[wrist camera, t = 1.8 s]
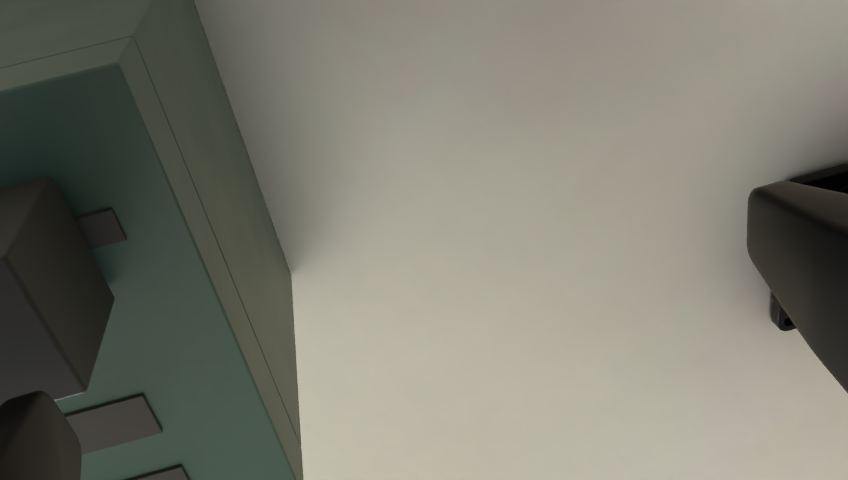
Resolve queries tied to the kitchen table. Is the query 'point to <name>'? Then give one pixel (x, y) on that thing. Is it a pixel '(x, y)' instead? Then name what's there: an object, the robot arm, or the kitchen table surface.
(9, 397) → the slider
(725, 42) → the kitchen table surface
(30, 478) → the robot arm
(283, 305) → the toaster
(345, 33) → the kitchen table surface
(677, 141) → the kitchen table surface
